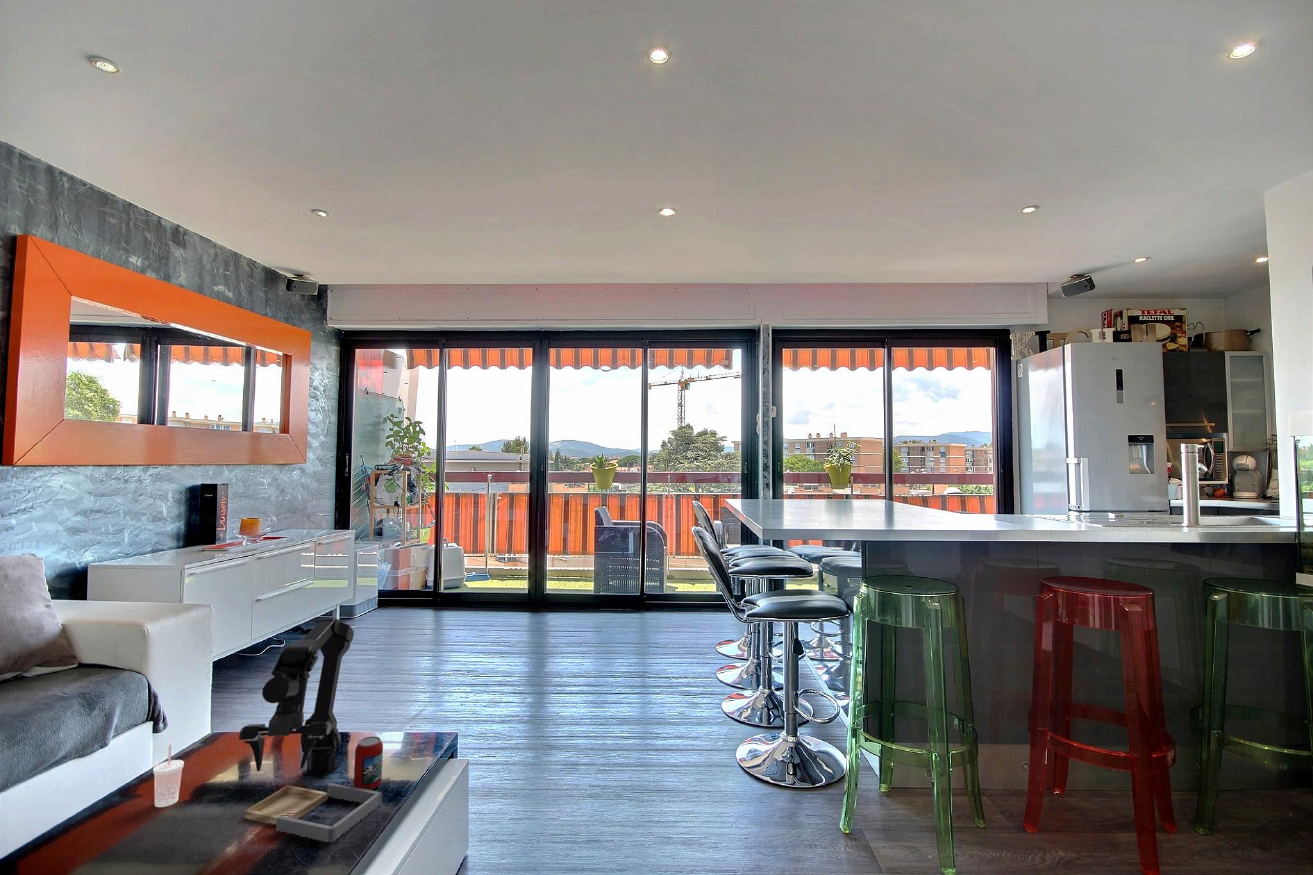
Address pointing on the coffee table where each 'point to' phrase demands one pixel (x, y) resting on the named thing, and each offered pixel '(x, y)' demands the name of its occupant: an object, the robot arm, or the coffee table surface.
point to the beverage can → (368, 763)
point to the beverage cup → (167, 781)
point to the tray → (286, 804)
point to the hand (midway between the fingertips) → (280, 769)
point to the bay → (333, 832)
